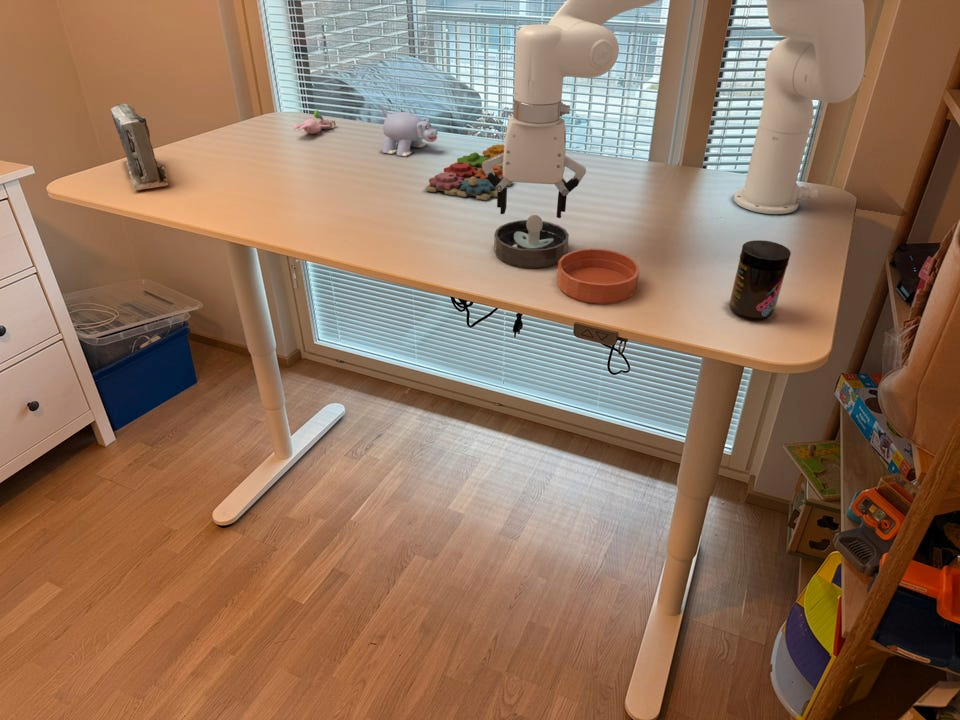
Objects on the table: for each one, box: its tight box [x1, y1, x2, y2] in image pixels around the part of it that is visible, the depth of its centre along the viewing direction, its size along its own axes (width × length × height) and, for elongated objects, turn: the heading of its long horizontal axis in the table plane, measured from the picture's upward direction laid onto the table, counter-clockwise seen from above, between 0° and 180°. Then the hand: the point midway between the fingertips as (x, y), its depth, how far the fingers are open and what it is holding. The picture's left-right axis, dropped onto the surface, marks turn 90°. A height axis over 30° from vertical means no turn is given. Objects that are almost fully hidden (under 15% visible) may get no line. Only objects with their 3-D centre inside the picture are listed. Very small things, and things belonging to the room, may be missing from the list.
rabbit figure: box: [292, 109, 337, 135], centre depth 182 cm, size 6×6×15 cm
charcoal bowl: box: [493, 219, 570, 269], centre depth 123 cm, size 13×13×4 cm
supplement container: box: [728, 239, 792, 322], centre depth 104 cm, size 7×7×10 cm
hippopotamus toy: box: [379, 107, 439, 157], centre depth 170 cm, size 11×15×10 cm
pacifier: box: [512, 214, 554, 250], centre depth 122 cm, size 7×6×6 cm
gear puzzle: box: [425, 144, 514, 201], centre depth 156 cm, size 31×16×4 cm, turn 157°
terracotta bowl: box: [556, 248, 641, 305], centre depth 113 cm, size 13×13×4 cm
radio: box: [110, 103, 169, 191], centre depth 153 cm, size 23×9×15 cm, turn 23°
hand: (530, 213), depth 119 cm, fingers open, 9 cm apart
